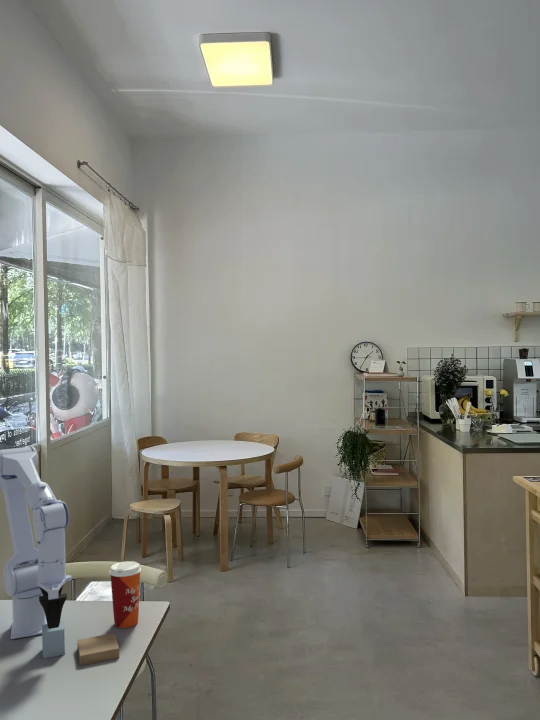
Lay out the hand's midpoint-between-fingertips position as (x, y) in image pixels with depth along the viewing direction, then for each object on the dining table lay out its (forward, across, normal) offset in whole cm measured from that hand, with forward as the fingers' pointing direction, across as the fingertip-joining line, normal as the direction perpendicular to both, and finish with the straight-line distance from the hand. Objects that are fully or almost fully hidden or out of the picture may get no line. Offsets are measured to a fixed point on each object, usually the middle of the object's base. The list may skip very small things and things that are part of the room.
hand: (53, 620), depth 130 cm
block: (+7, 0, 0) cm, 7 cm away
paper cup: (+7, +8, -17) cm, 20 cm away
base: (+7, -5, -9) cm, 12 cm away
